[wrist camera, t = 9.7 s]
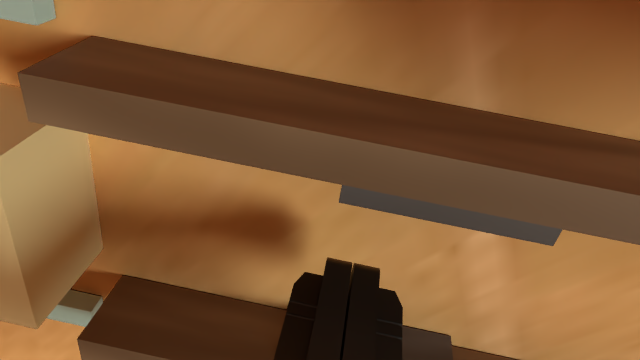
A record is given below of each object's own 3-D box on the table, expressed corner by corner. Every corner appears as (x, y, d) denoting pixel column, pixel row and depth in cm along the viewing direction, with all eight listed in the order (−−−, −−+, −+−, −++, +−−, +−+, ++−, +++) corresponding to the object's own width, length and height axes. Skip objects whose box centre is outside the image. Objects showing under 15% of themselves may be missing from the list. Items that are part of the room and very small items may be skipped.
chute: (92, 35, 13) (17, 72, 10) (922, 195, 12) (1063, 279, 9) (125, 296, 18) (82, 361, 16) (687, 418, 18) (735, 508, 15)
